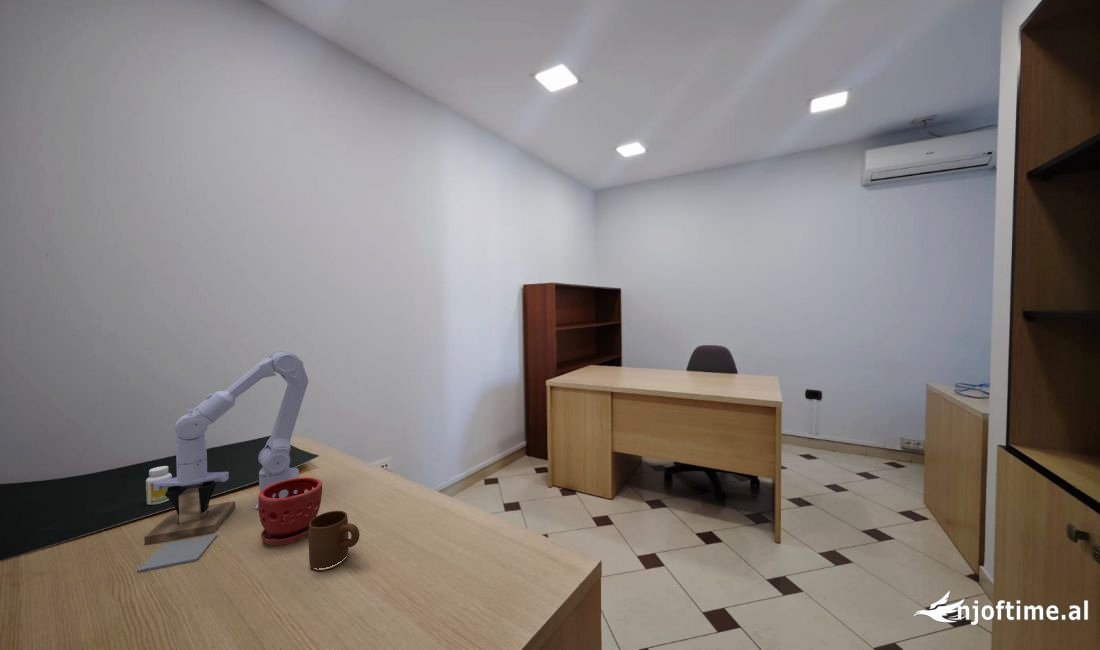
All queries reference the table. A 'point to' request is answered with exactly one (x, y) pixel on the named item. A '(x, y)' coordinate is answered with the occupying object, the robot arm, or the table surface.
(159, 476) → the supplement bottle
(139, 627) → the table surface
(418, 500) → the table surface
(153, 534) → the brown square hole board
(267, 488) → the plant pot
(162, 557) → the pad
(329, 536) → the mug
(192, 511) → the maple plug
